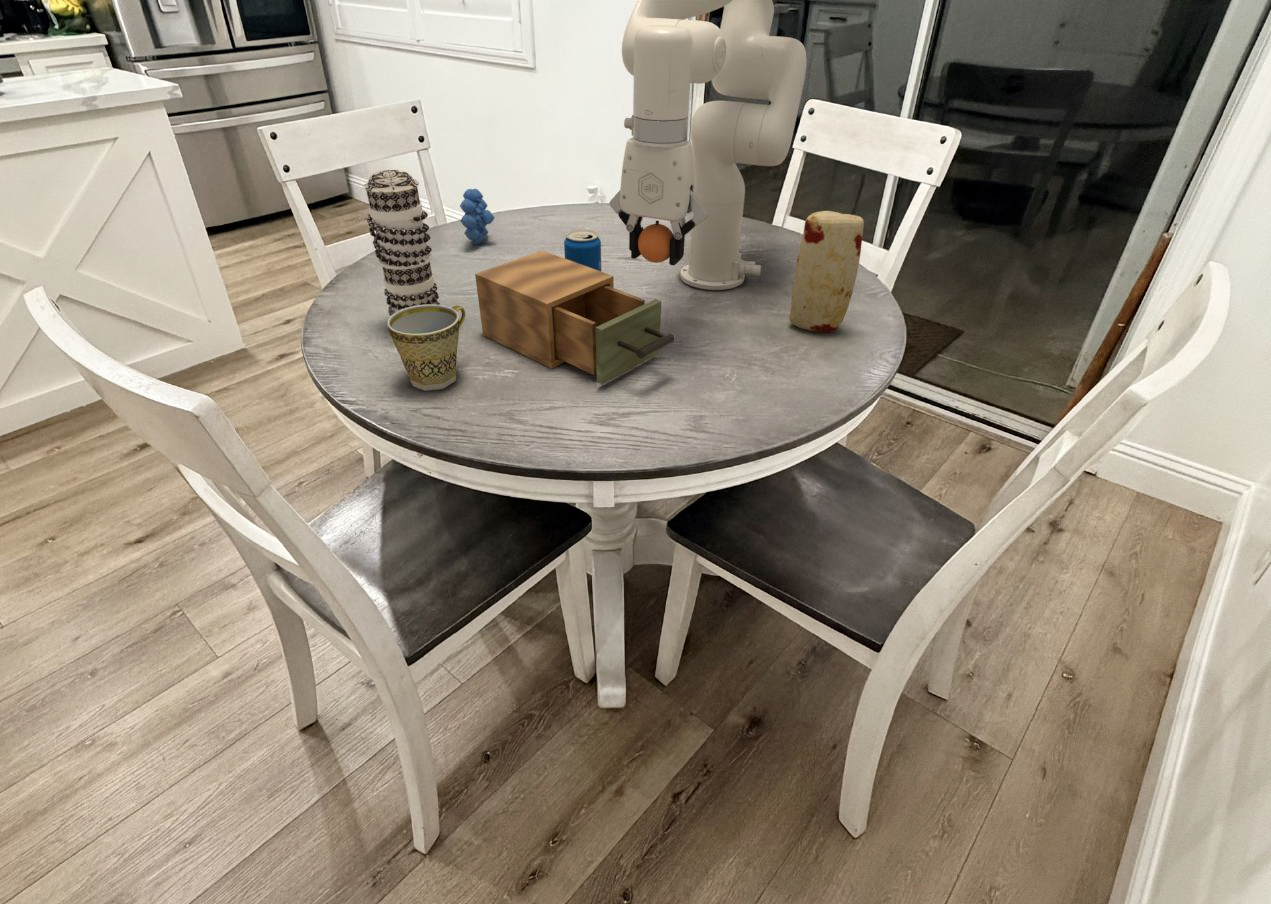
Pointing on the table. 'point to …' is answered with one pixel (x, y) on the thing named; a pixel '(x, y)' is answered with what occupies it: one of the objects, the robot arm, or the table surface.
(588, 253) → the beverage can
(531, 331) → the cabinet
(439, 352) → the ceramic cup
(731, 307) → the table surface
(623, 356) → the drawer
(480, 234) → the grapes
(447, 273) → the table surface
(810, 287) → the food model
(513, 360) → the table surface
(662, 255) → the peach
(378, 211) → the decorative candle
